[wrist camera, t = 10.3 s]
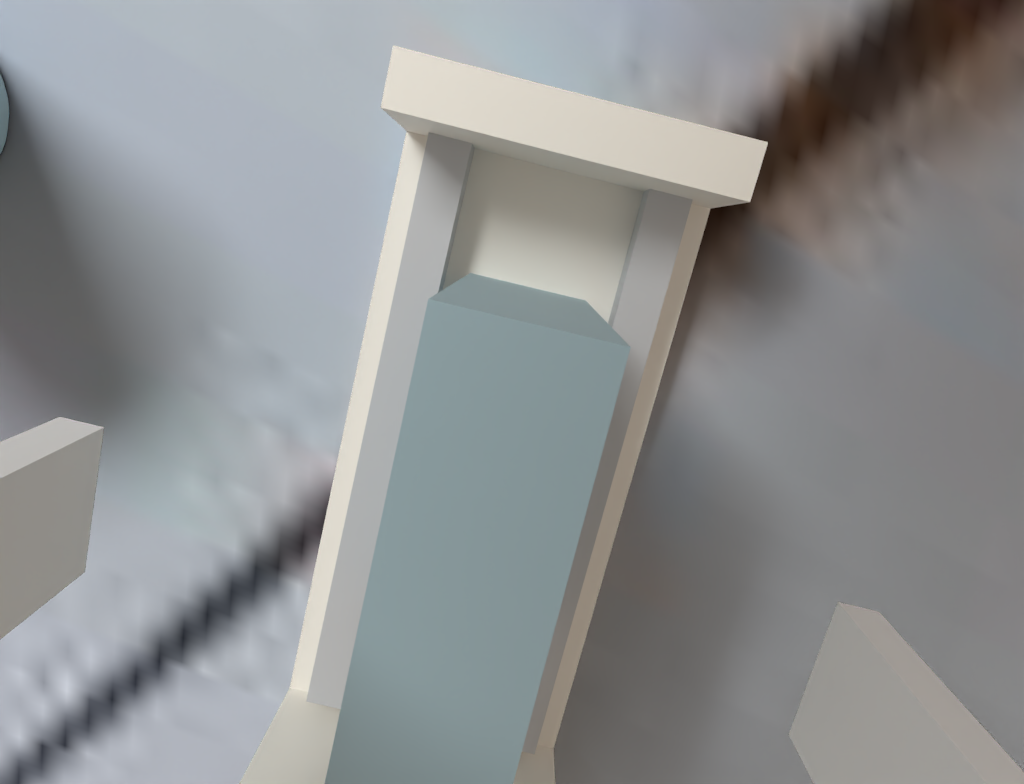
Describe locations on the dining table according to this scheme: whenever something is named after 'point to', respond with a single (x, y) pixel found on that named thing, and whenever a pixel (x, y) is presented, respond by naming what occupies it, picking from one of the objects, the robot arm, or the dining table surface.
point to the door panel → (476, 534)
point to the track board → (525, 261)
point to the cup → (3, 114)
